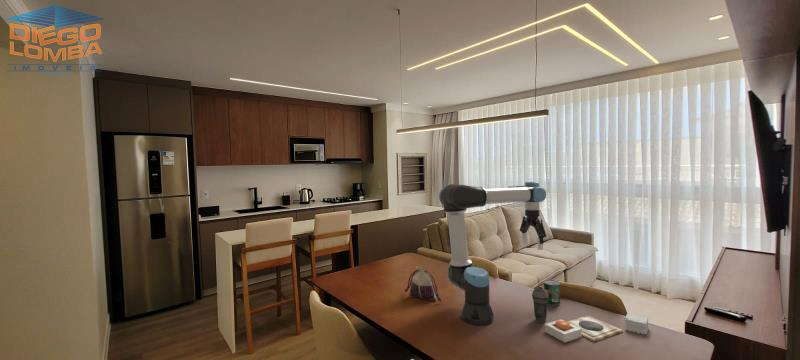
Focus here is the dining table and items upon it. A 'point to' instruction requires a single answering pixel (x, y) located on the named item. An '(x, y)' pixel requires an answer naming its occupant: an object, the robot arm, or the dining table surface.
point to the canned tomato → (552, 292)
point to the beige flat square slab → (594, 328)
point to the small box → (636, 323)
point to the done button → (563, 325)
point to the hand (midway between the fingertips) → (532, 246)
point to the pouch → (422, 285)
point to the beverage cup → (540, 303)
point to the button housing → (563, 332)
